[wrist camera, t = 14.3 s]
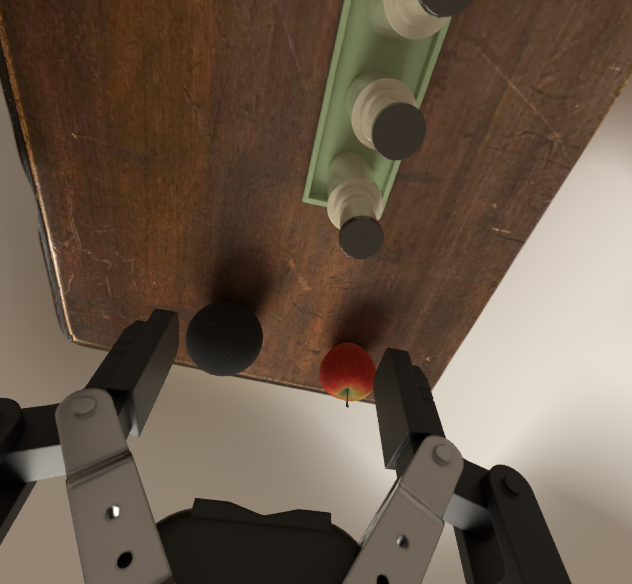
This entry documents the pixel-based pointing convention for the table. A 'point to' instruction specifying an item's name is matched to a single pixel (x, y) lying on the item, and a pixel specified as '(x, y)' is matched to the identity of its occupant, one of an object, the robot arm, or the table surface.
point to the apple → (347, 372)
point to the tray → (347, 64)
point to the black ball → (224, 338)
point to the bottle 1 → (354, 205)
